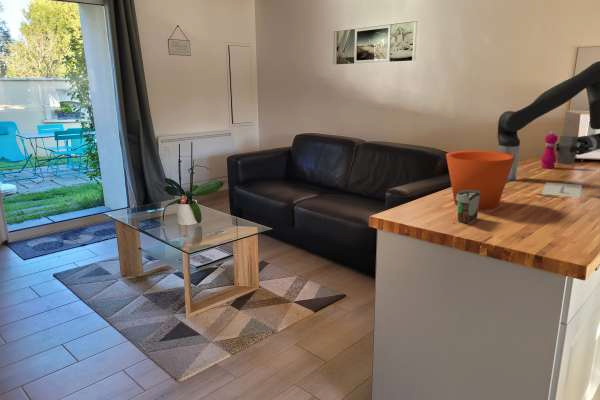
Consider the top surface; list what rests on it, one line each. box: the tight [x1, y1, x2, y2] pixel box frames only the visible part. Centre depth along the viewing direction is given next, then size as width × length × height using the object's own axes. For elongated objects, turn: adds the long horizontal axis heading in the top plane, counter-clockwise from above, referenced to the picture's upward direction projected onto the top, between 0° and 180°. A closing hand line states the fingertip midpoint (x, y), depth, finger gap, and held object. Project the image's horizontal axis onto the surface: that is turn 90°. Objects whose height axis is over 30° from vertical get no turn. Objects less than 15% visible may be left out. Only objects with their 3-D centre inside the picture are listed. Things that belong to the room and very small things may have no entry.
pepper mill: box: [540, 131, 559, 170], centre depth 239 cm, size 7×7×20 cm
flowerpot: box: [445, 149, 515, 210], centre depth 174 cm, size 25×25×20 cm
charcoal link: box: [556, 135, 578, 165], centre depth 180 cm, size 5×5×11 cm
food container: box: [456, 190, 480, 226], centre depth 156 cm, size 12×6×10 cm, turn 141°
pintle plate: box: [540, 181, 583, 200], centre depth 190 cm, size 24×14×4 cm, turn 147°
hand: (564, 149), depth 179 cm, fingers closed on charcoal link, 4 cm apart
